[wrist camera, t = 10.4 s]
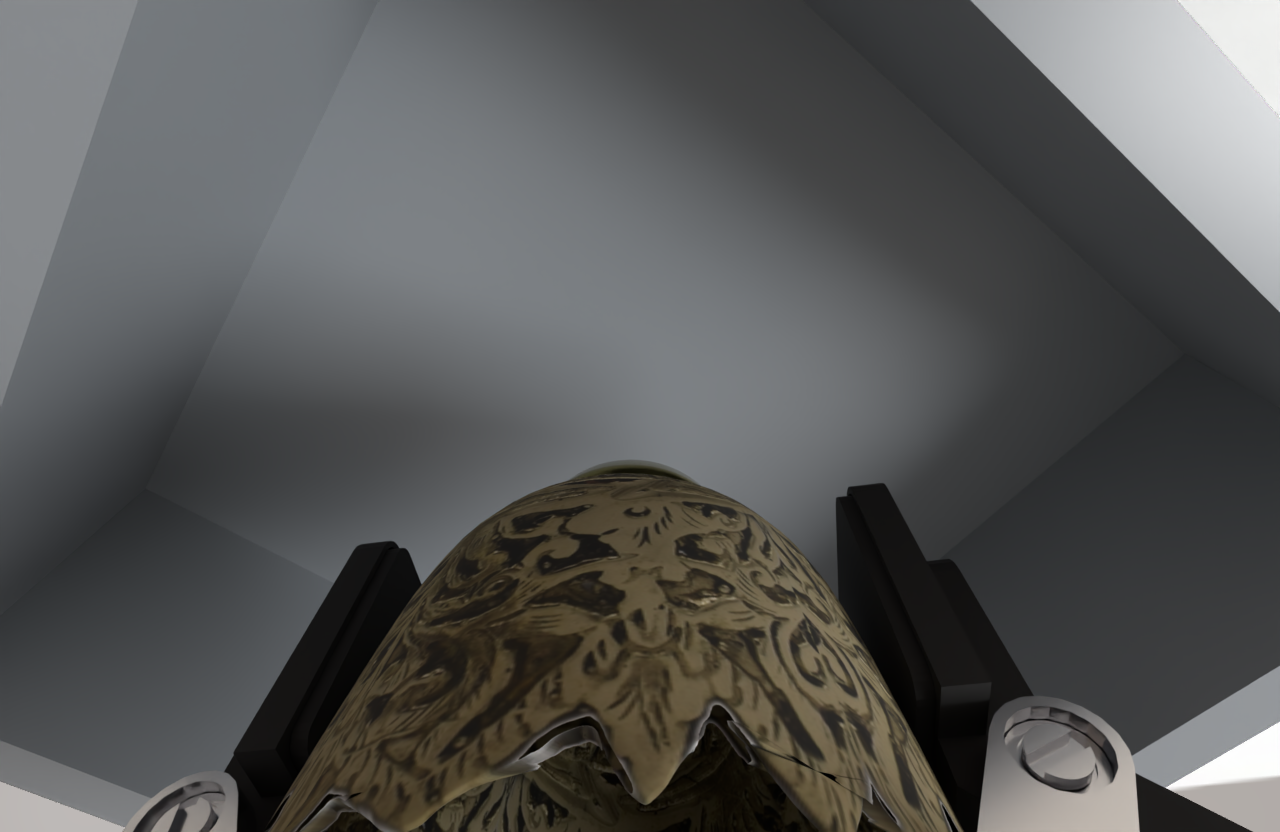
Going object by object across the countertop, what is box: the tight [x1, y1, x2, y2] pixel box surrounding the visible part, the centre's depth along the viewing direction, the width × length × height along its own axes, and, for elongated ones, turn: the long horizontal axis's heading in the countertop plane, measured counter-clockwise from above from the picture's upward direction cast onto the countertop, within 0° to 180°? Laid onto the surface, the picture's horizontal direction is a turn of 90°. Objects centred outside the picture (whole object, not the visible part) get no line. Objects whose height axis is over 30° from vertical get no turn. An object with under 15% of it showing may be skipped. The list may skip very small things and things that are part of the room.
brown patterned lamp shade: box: [263, 460, 964, 832], centre depth 10 cm, size 8×7×8 cm
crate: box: [0, 0, 1280, 827], centre depth 14 cm, size 20×20×8 cm
